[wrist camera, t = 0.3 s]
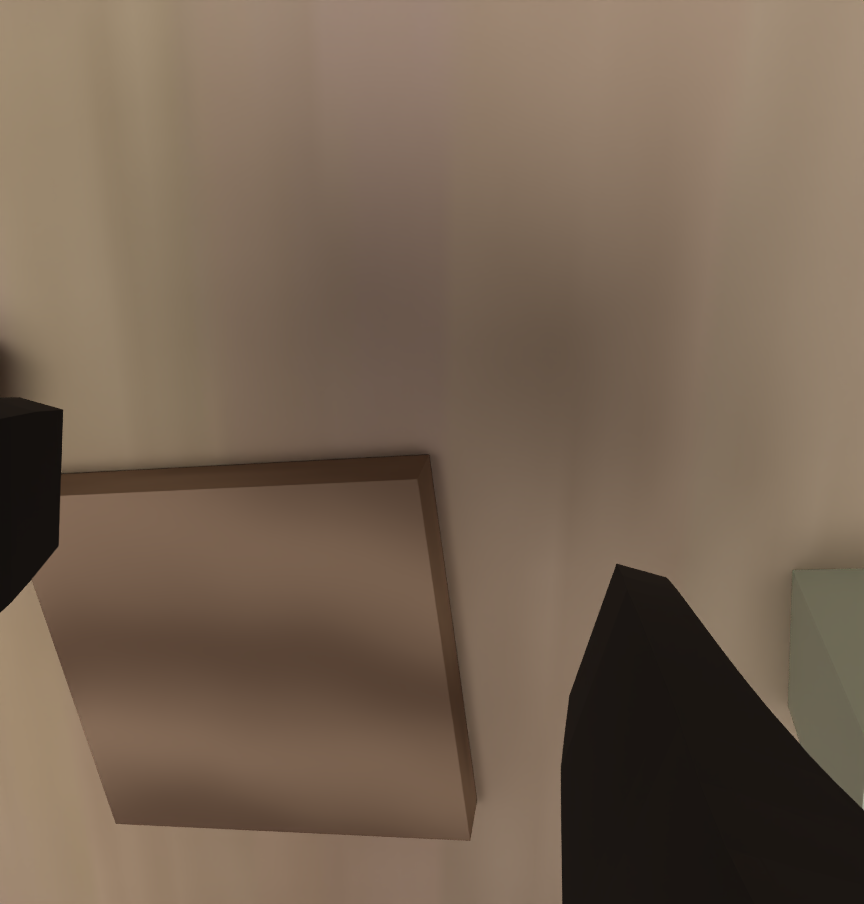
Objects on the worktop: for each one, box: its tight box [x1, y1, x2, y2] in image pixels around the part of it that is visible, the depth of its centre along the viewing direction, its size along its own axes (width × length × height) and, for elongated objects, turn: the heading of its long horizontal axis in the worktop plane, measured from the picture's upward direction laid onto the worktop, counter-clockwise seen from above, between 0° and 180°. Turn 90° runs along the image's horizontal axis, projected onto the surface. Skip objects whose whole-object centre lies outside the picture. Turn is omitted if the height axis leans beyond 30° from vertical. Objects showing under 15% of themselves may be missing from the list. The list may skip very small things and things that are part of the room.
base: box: [32, 455, 477, 841], centre depth 23 cm, size 11×11×2 cm
